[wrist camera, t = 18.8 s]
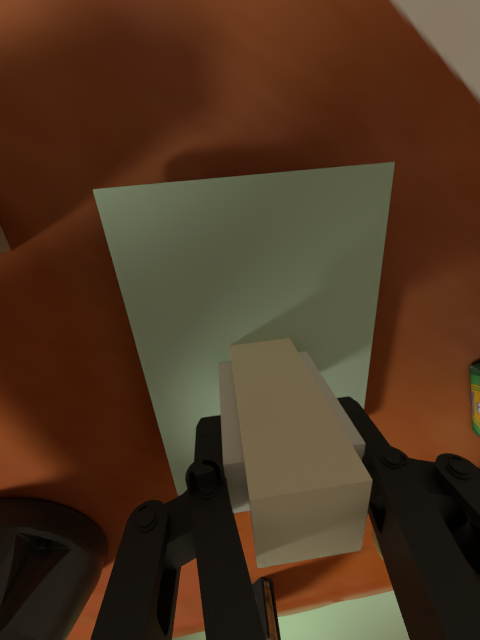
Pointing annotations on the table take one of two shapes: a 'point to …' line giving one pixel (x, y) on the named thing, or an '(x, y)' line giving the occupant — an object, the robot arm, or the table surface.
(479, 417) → the chalk box
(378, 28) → the table surface
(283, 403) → the lid
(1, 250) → the tan open box
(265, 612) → the ammunition clip
